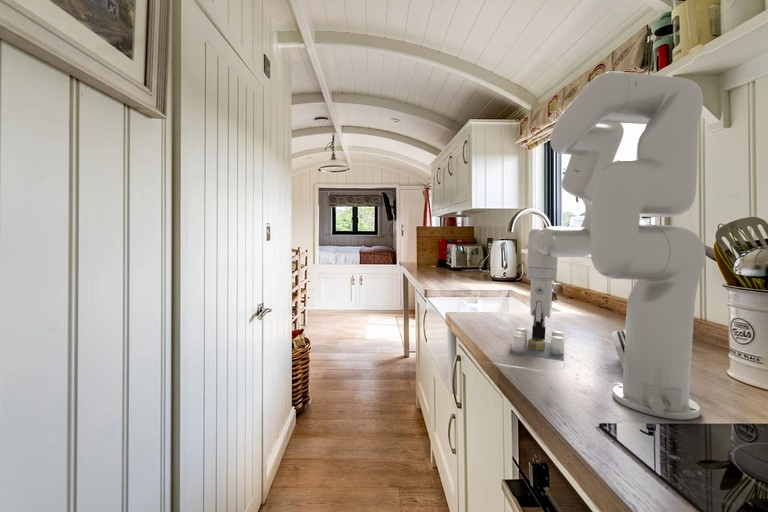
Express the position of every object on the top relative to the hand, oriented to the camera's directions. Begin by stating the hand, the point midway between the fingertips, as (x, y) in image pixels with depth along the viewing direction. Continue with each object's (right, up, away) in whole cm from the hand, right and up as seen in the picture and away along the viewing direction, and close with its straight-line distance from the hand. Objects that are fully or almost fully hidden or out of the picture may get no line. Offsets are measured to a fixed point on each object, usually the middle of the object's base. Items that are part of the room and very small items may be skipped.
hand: (538, 340), depth 102 cm
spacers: (-2, -2, -4) cm, 4 cm away
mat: (-2, -2, -4) cm, 4 cm away
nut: (-2, -1, -3) cm, 4 cm away
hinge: (+13, -3, -18) cm, 22 cm away
